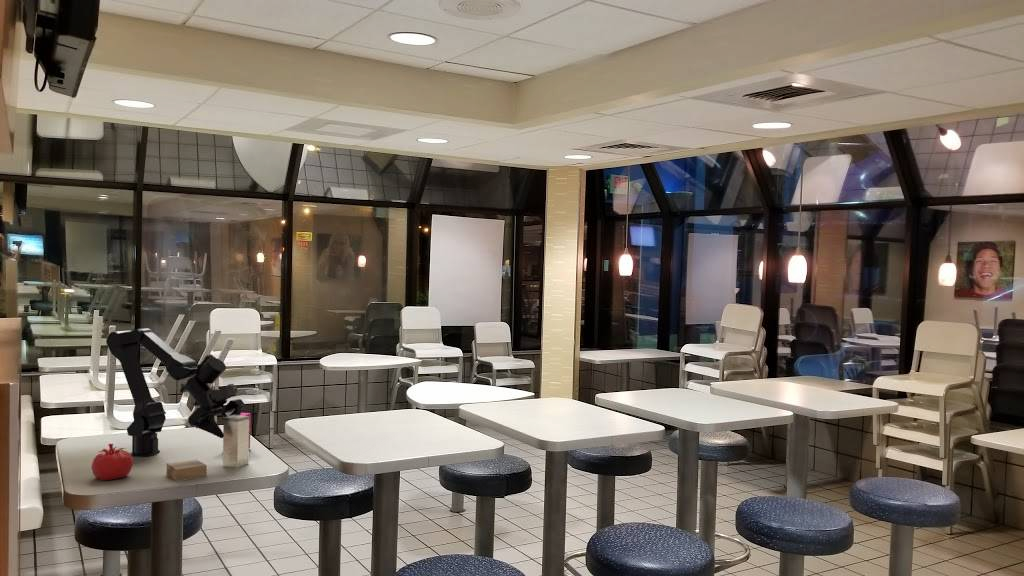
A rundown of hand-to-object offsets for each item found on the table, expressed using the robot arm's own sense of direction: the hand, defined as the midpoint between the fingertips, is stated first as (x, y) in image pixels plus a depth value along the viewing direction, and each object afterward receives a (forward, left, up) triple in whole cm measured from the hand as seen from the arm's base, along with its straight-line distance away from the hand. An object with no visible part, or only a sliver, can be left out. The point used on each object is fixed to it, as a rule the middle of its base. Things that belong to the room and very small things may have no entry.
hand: (233, 434), depth 227 cm
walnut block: (-6, -14, -9) cm, 18 cm away
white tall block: (+1, 0, -9) cm, 9 cm away
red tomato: (-24, -20, -9) cm, 33 cm away
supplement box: (-8, +18, -9) cm, 22 cm away
